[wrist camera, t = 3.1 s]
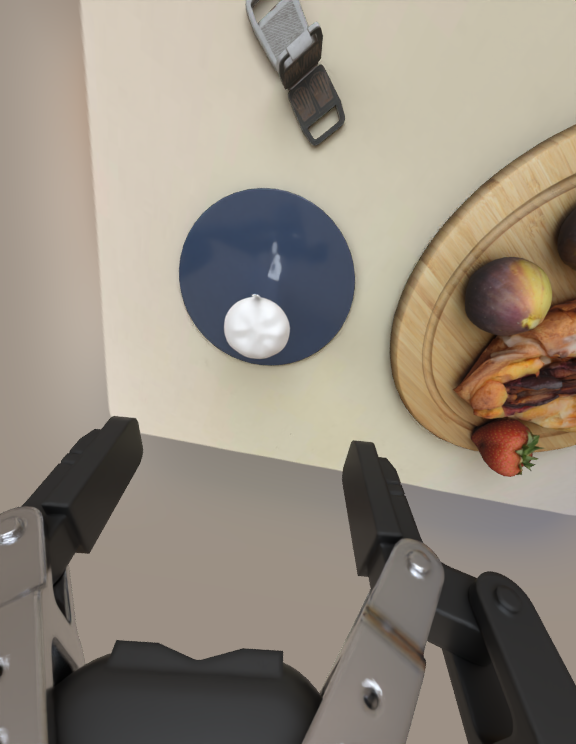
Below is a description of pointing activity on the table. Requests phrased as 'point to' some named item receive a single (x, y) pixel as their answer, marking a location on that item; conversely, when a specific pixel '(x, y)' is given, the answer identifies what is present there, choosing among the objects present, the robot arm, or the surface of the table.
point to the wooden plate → (498, 315)
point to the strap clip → (298, 62)
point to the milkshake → (258, 321)
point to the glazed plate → (268, 268)
